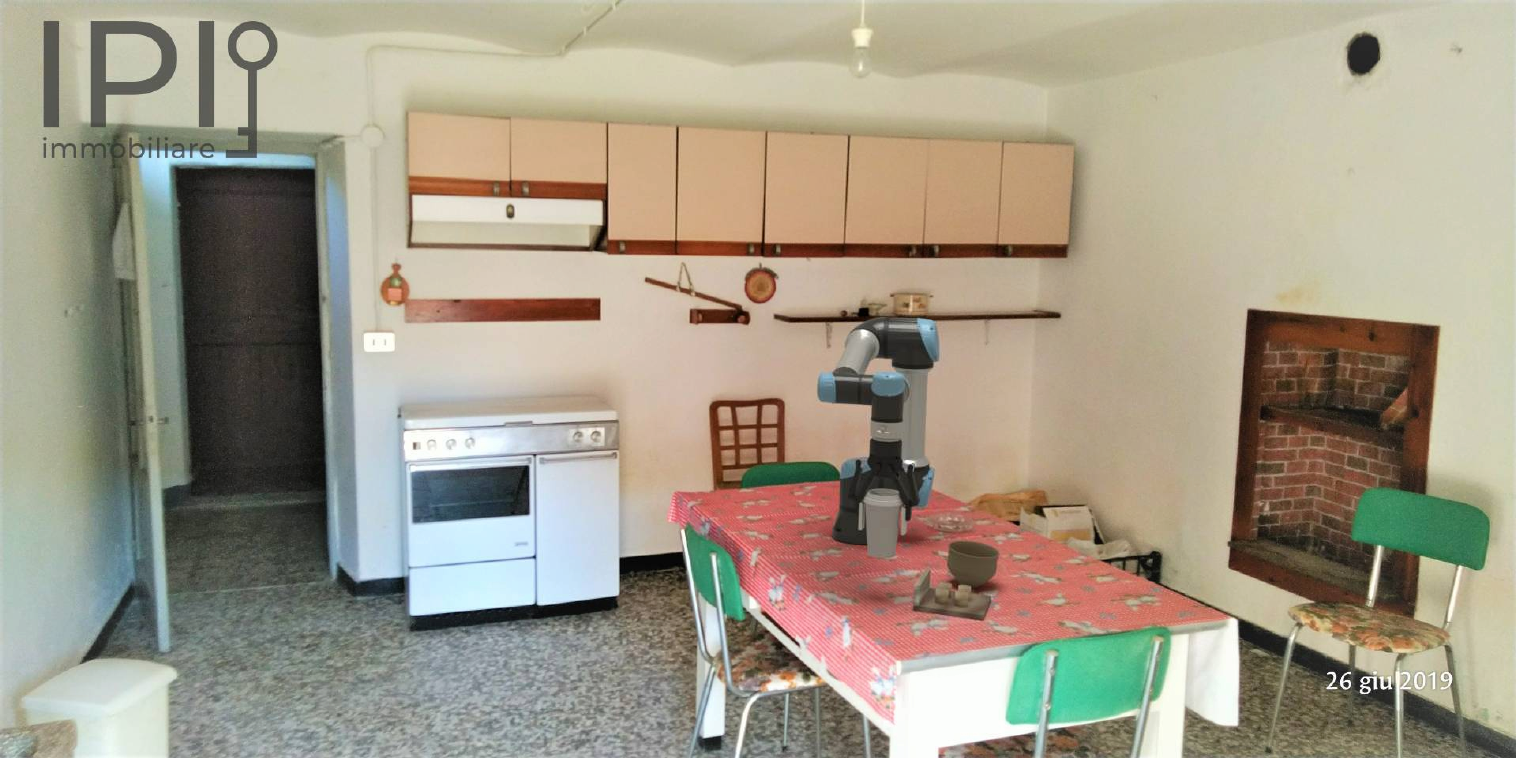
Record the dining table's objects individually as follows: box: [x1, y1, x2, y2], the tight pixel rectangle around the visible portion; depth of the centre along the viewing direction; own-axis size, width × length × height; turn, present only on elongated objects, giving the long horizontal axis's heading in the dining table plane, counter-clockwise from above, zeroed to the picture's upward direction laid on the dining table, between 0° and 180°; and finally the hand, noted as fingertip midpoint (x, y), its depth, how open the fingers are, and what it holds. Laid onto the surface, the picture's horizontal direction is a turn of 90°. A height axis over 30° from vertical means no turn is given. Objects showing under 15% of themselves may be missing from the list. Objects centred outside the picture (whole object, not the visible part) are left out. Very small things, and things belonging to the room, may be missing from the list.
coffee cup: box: [863, 489, 904, 559], centre depth 240 cm, size 10×10×15 cm
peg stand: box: [912, 567, 992, 621], centre depth 239 cm, size 16×14×6 cm
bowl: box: [946, 540, 1000, 589], centre depth 254 cm, size 13×13×10 cm
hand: (882, 530), depth 240 cm, fingers closed on coffee cup, 9 cm apart
